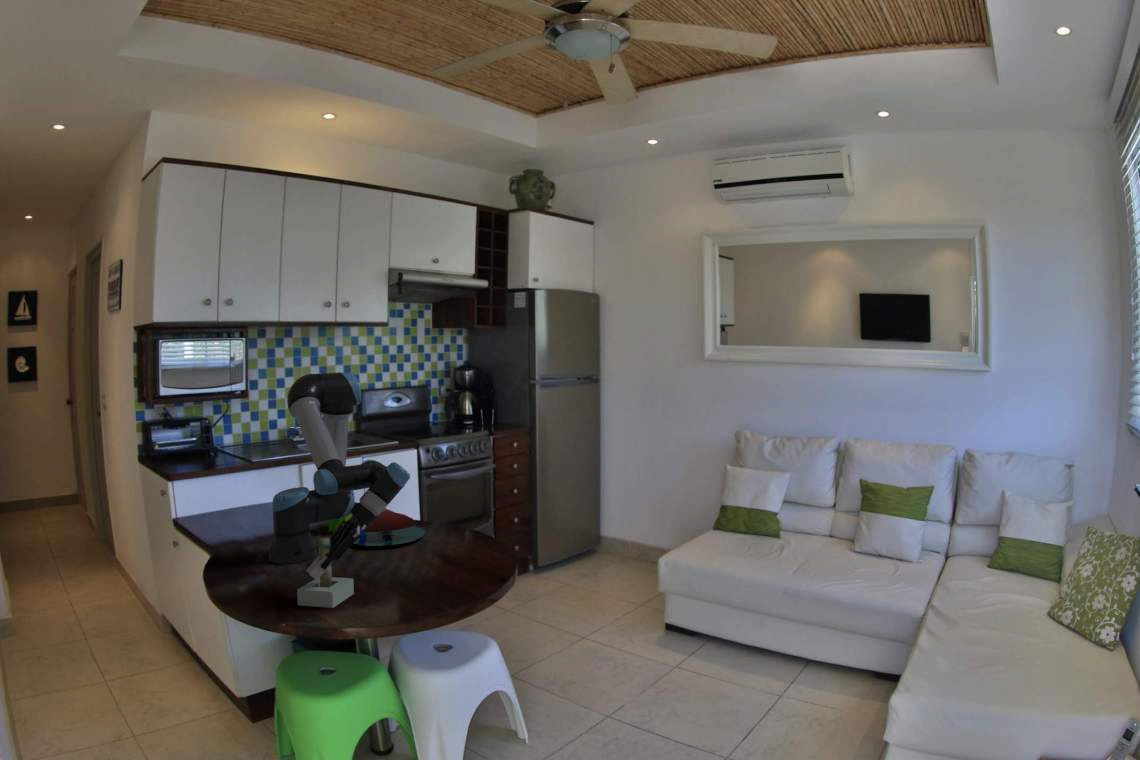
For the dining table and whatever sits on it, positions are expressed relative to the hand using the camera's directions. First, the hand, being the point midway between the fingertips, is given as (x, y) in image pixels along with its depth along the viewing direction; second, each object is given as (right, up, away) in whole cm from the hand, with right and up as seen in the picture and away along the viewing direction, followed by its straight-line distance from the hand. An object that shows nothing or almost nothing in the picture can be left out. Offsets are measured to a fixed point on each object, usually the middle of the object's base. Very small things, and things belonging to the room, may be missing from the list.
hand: (311, 575), depth 192 cm
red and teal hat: (+5, -5, +63) cm, 63 cm away
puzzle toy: (-15, -4, +76) cm, 78 cm away
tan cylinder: (+3, -5, +2) cm, 6 cm away
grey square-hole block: (+3, -8, +3) cm, 9 cm away
